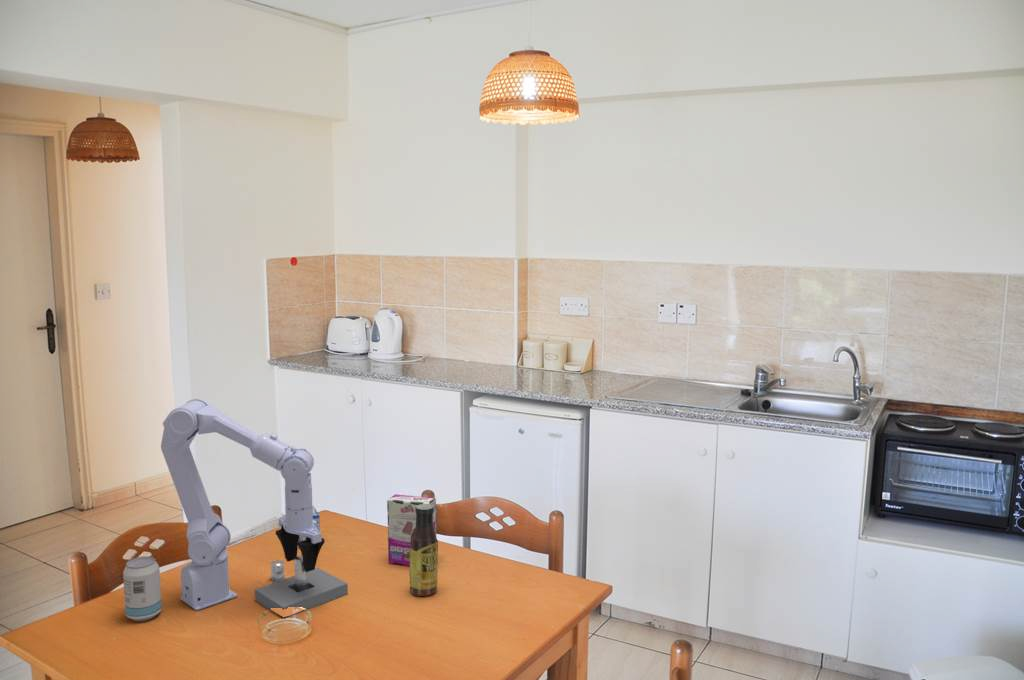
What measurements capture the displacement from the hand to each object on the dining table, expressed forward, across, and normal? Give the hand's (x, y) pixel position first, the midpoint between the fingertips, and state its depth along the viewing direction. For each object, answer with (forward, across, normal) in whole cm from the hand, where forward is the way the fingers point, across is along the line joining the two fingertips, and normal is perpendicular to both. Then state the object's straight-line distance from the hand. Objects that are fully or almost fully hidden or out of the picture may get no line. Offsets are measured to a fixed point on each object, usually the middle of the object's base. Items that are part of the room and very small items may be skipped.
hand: (300, 565), depth 177 cm
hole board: (+8, 0, 0) cm, 8 cm away
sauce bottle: (+8, -17, -21) cm, 28 cm away
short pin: (+8, +12, -1) cm, 14 cm away
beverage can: (+8, +16, +28) cm, 33 cm away
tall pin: (+8, 0, 0) cm, 8 cm away
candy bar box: (+8, -3, -29) cm, 30 cm away
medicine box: (+8, +26, -18) cm, 33 cm away
